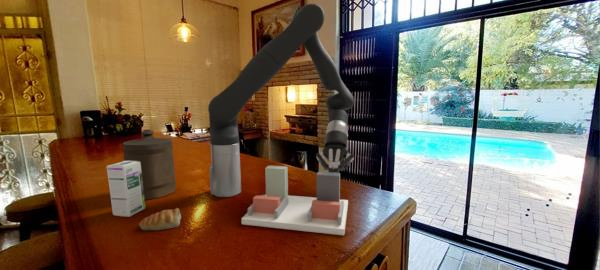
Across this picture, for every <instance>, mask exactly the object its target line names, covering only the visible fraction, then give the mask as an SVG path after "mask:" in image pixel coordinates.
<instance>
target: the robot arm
mask: <svg viewBox="0 0 600 270" xmlns="http://www.w3.org/2000/svg"><path fill="white" fill-rule="evenodd" d="M324 23H325V11H324V9H323V8H322V7H321V6H320V5H318V4H316V3H308V4H305V5H303V6H301V7H300V8H299V9H298V10H297V11H296V12H295V13H294V14H293V17H292V21H291V22H290V23H289V24H288V25H287V27H286V28H284V29H283V30H282V31H281V32H280V33H278V34H277V35H276V36H274V37H273V38H272V39H271V40H270V41H268V42H266V43H265V44H264V45H263V47H261V48H260V49H259V50H258V51H257V53H255V55H253V57H252V58H251V59H250V60H249V61H248V63H246V65H245V67H244V68H243V69H242V71H241V72H240V73H239V74H238V76H237V77H236V79H235V80H233V81H232V82H231V83H230V85H228V86H227V87H226V88H224V90H222V91H221V92H220V93H219V94H217V95H216V96H214V97H213V98H212V99H211V100H210V102H209V104H208V106H207V107H208V108H207V110H208V111H207V112H208V118H209V139H210V140H209V141H210V153H211V154H210V158H211V165H210V166H209V185H210V186H209V187H210V195H214V196H215V197H218V198H228V197H234V196H237V195H239V194H240V193H241V192H242V181H241V180H242V179H241V160H240V159H241V157H240V156H241V154H240V152H241V151H240V135H239V124H238V116H239V114H240V112H241V111H242V109H243V108H244V107H245V106H246V104H247V103H248V102H249V101H250V99H251V98H252V97H254V95H255V94H256V93H258V92H259V91H260V90H261V89H263V88H264V87H265V86H266V85H267V84H268V83H269V82H270V81H272V79H273V78H275V76H277V74H278V73H279V72H280V71H281V70H282V69H283V68H284V67H285V65H286V64H287V63H288V62H289V61H290V60H291V58H292V57H293V56H294V55H295V53H296V52H297V50H299V48H300V47H301V46H302V45H303V46H304V48H305V49H306V52H307V53H308V55H309V57H310V59H311V60H312V63H313V65H314V67H315V70H316V72H317V75H318V76H319V79H320V81H321V84H322V87H323V88H324V89H325V91H336V92H337V93H334V94H331V95H329V96H328V97H326V101H325V105H326V109H327V114H328V122H327V123H328V124H327V128H326V130H325V131H326V132H325V141H324V147H323V148H322V150H321V152H316V153H315V157H316V160H317V162H319V164H320V165H321V167H322V168H323V169H324V170H326V171H327V172H332V173H339V172H340V171H342V172H343V171H345V170H346V169H347V168H348V167H349V166H350V165H351V163H353V161H355V157H354V156H355V155H354V154H352V153H350V152H349V150H348V138H349V132H348V131H349V130H348V129H349V128H348V125H349V116H348V115H349V114H348V113H347V111H346V110H350V109H352V108H354V104H355V99H354V96H353V94H352V92H351V91H350V90H349V88H348V87H347V86H346V85H345V83H344V82H343V80H342V78H341V75H340V73H339V70H338V68H337V65H336V63H335V62H334V60H333V58H332V57H331V56H330V54H329V53H328V51H327V50H326V49H325V48H324V46H323V44H322V42H321V40H320V36H319V35H318V34H319V33H318V32H319V31H320V30H321V28H322V27H323V25H324ZM324 157H325V159H326V160H327V162H328V163H327V162H326V161H325V159H324Z"/></svg>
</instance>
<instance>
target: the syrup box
mask: <svg viewBox="0 0 600 270" xmlns="http://www.w3.org/2000/svg"><path fill="white" fill-rule="evenodd" d="M106 172H107V173H106V174H107V179H108V186H109V195H110V201H111V209H112V210H111V211H112V215H113V216H117V217H118V216H119V217H127V218H128V217H129V218H130V217H132V216H133V215H136V214H137V213H139V212H141V211H143V210H145V209H146V207H147V206H146V201H145V198H144V189H143V181H142V172H141V163H140V162H139V161H124V160H123V161H120V162H116V163H113V164H109V165H107V166H106Z"/></svg>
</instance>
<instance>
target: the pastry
mask: <svg viewBox="0 0 600 270" xmlns="http://www.w3.org/2000/svg"><path fill="white" fill-rule="evenodd" d="M181 219H182V214H181V211H180V208H178V207H176V208H175V209H162V210H161V211H160V212H159V211H158V212H156V213H152V214H150V215H149V216H146V217H144V218H143V219H142V220H141V221H140V222H139V223H138V226H139V228H140V229H141V230H142V231H143V230H144V231H159V230H167V229H173V228H177V227H179V226H180V225H181V224H180V223H181Z"/></svg>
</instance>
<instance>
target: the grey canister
mask: <svg viewBox="0 0 600 270" xmlns="http://www.w3.org/2000/svg"><path fill="white" fill-rule="evenodd" d="M154 133H155V132H154V131H153V130H151V129H144V130H142V132H141V135H142V137H141V138H140V139H133V140H132V139H131V140H127V141H124V142H122V151H123V161H139V162H140V163H141V172H142V181H143V189H144V198H145V200H147V201H148V200H153V199H159V198H162V197H165V196H168V195H171V194H172V193H174V192H175V191H176V190H177V185H176V171H175V163H174V151H173V139H172V138H167V137H166V138H165V137H155V136H154Z"/></svg>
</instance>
